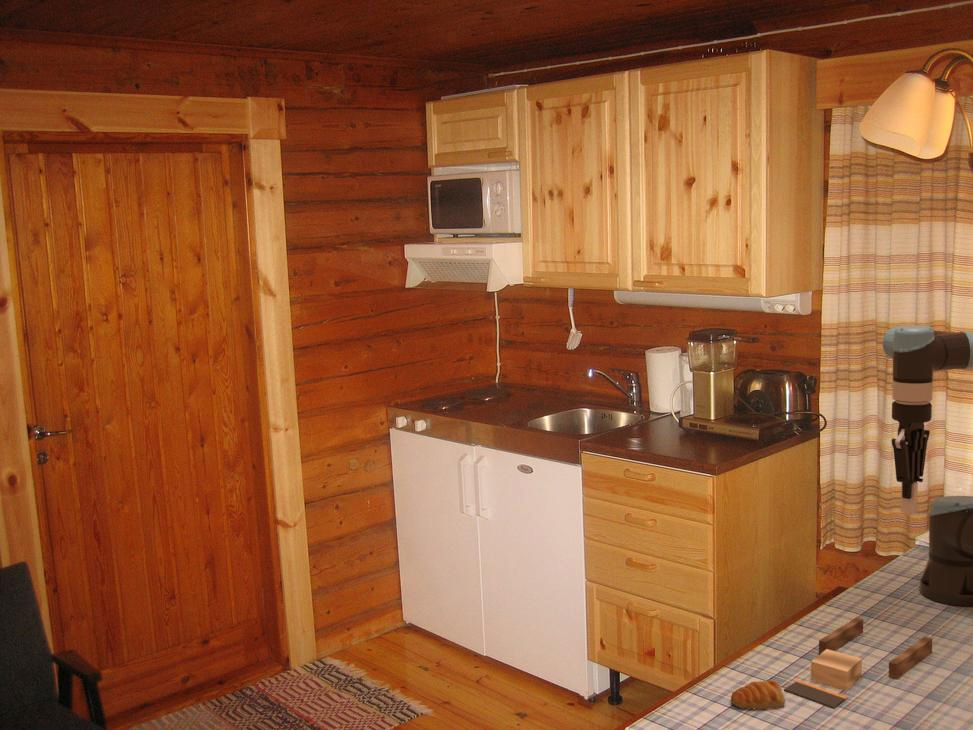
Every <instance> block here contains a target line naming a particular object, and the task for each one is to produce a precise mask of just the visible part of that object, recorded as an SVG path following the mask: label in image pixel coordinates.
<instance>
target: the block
mask: <svg viewBox="0 0 973 730" xmlns="http://www.w3.org/2000/svg"><path fill="white" fill-rule="evenodd" d="M862 662H863V658H860V657H856V656H854V655H850V654H846V653H843V652H839V651H836V650H835V651H832V650H829V649H826V650H825V651H823V652H822V653H821V654H820V655H819V654H818V655H817V656H816V657H815V658H813V659H812V660H811V661H810V680H811V681H813V682H817V683H820V684H824V685H827V686H831V687H833V688H836V687H837V689H840V690H843V691H846V690H847V691H848V690H849V689H850V688H851V687H852V686H853V685H855V684H856V683H857V682H858V681H859V680H860V679H861V678H862V671H863V670H862V669H863V666H862V665H863V663H862ZM859 678H860V679H859ZM857 680H858V681H857ZM856 681H857V682H856ZM855 682H856V683H855Z"/></svg>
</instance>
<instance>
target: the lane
mask: <svg viewBox="0 0 973 730" xmlns="http://www.w3.org/2000/svg"><path fill="white" fill-rule="evenodd" d="M862 632H863V633H864V618H861V617H857V616H856V617H854V618H853V619H851V620H850V621H848V622H846V623H845V624H843V625H842V626H840V627H838V628H837V629H835V630H834V631H832V632H831V633H828V634H827V635H825V636H824V637H822V638H820V639H819V640H818V655H819V654H821V653H822V652H823V651H825V650H826V649H829V650H832V651H836V649H837V650H838V649H840V648H841V647H843V646H844V645H846V644H847V643H846V642H848V641H849V642H851V641H852V640H854V639H855V638H857V637H858V636H860V635H861V634H863V633H862ZM860 633H861V634H860ZM859 634H860V635H859ZM857 635H858V636H857ZM856 636H857V637H856ZM854 637H855V638H854ZM853 638H854V639H853ZM851 639H852V640H851ZM850 640H851V641H850ZM849 642H848V643H849ZM845 643H846V644H845ZM843 644H844V645H843ZM842 645H843V646H842ZM840 646H841V647H840ZM839 647H840V648H839ZM932 653H933V638H932V637H928V636H926V635H925V636H923V637H922V638H920V639H919V640H918V641H916V642H915V643H913V644H912V645H911V646H909V647H908V648H906V649H905V650H904V651H902V652H901V653H899V654H898V655H897V656H895V657H894V658H893V659H891V660H890V661H889V662H888V678H891V679H893V680H894V679H895V680H898V679H899V678H900V677H901V676H903V675H904V674H905V673H907V672H908V671H909V670H911V669H912V668H914V667H915V666H916V665H917V664H919V663H920V662H921V661H923V660H924V659H925V658H927V657H928V656H929V655H931V654H932Z"/></svg>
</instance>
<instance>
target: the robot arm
mask: <svg viewBox="0 0 973 730" xmlns="http://www.w3.org/2000/svg"><path fill="white" fill-rule="evenodd" d="M882 350H883V352H884V354H885V355H886V356H887V357H888V358H890V359H892V383H891V385H890V387H891V388H892V397H891V398H892V399H893V400H894V401H892V403H891V418H892V420H894V421H895V422H897V423H898V427H897V428H898V429H897V437H896V438H893V437H892V438H891V447H892V448H893V457H894V468H895V479H896V482H898V483H901V495H900V496H901V497H900V499H901V500H900V501H901V504H900V506H901V507H900V513H905V514H908V515H916V514H917V513H918V497H919V496H918V494H919V493H918V490H919V483H923V481H924V478H922V477H923V476H924V471H925V466H926V465H925V463H926V455H927V449H928V442H929V437H930V434H931V431H930V430H929V429H925V423H928V422H931V420H932V416H933V415H932V414H933V413H932V412H933V405H932V403H931V401H932V400H933V387H934V386H933V383H934V382H933V381H934V380H933V377H934V375H933V374H934V372H937V371H947V370H948V371H949V370H950V371H951V370H959V371H965V372H971V373H973V331H959V332H949V331H941V330H934V328H933V327H932V326H928V325H902V326H901V325H899V326H898V325H897V326H893V327H891V328H890V329H888V330H887V331H886V333H884V336H883V339H882ZM929 510H930V511H929V514H928V517H929V518H928V519H929V520H928V522H929V523H928V525H929V527H928V560H927V563H926V565H925V567H924V570H923V572H922V575H921V577H920V580H919V591H920V594H922V596H924V597H925V598H928V599H930V600H931V601H934V602H937V603H941V604H945V605H951V606H958V607H959V606H960V607H973V496H971V495H948V496H947V495H946V496H941V497H937V498H935V499H933V501H932V502H931V503H930V508H929Z"/></svg>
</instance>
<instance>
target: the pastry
mask: <svg viewBox="0 0 973 730" xmlns="http://www.w3.org/2000/svg"><path fill="white" fill-rule="evenodd" d="M730 696H731V697H730V702H731V704H733V705H734V706H736V707H738V708H740V709H743V708H752V709H751V710H756V709H762V710H767V709H766V708H773V709H778V708H777V707H779V708H782V707H784V705H785V704H786V699H785V695H784V693H783V691H782V687H781V686H780V684H779V683H778V681H776V680H773V679H770V678H769V679H768V680H767V681H765V680H764V681H763V680H759V681H751V682H749V683H748V684H746V685H744V686H741V687H739V688H738V689H735V690H734V691H732V694H731V695H730ZM753 708H755V709H753ZM764 708H765V709H764Z"/></svg>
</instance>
